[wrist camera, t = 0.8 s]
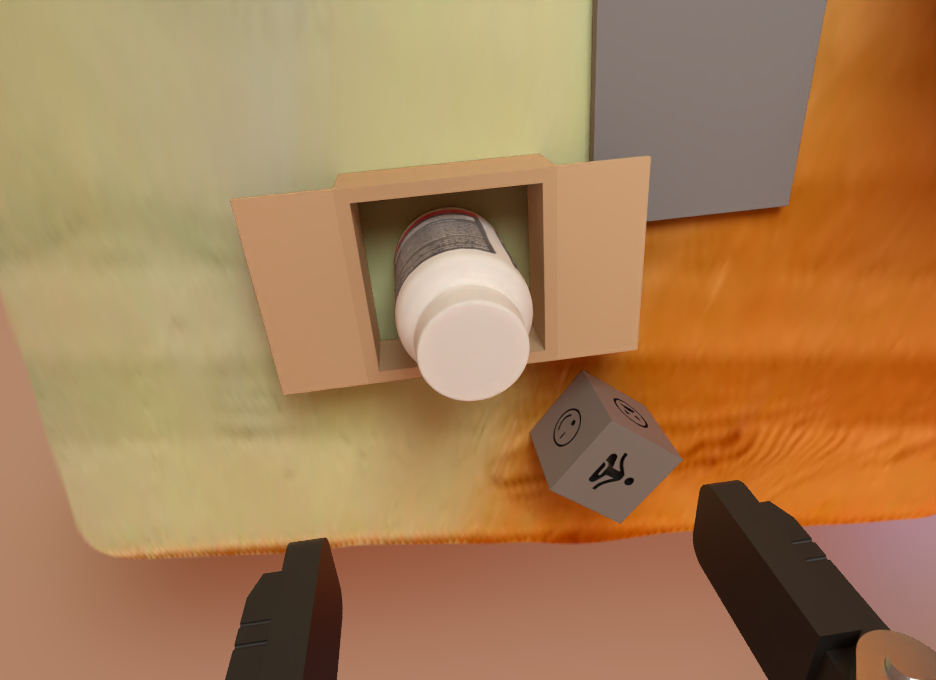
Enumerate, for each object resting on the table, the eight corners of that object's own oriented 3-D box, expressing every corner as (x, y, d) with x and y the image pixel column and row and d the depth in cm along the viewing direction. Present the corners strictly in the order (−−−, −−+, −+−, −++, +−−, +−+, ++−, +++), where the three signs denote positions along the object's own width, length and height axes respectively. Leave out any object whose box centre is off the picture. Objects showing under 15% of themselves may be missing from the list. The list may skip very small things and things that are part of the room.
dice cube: (582, 368, 32) (612, 420, 28) (645, 405, 34) (682, 459, 29) (529, 431, 34) (549, 489, 29) (592, 464, 35) (620, 523, 31)
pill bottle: (374, 278, 28) (366, 381, 19) (429, 183, 26) (447, 249, 18) (466, 325, 30) (496, 439, 21) (524, 240, 28) (582, 325, 19)
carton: (248, 183, 25) (229, 200, 22) (623, 145, 26) (651, 156, 24) (293, 361, 29) (283, 395, 27) (614, 322, 31) (637, 349, 28)
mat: (593, -13, 23) (598, -15, 23) (823, -33, 24) (833, -34, 23) (588, 224, 28) (591, 227, 27) (781, 202, 29) (788, 205, 28)
